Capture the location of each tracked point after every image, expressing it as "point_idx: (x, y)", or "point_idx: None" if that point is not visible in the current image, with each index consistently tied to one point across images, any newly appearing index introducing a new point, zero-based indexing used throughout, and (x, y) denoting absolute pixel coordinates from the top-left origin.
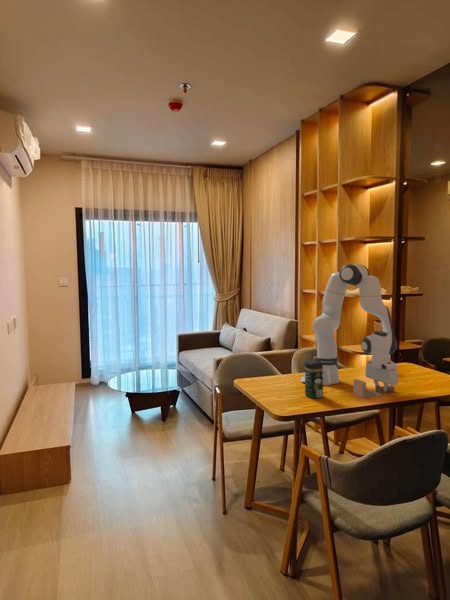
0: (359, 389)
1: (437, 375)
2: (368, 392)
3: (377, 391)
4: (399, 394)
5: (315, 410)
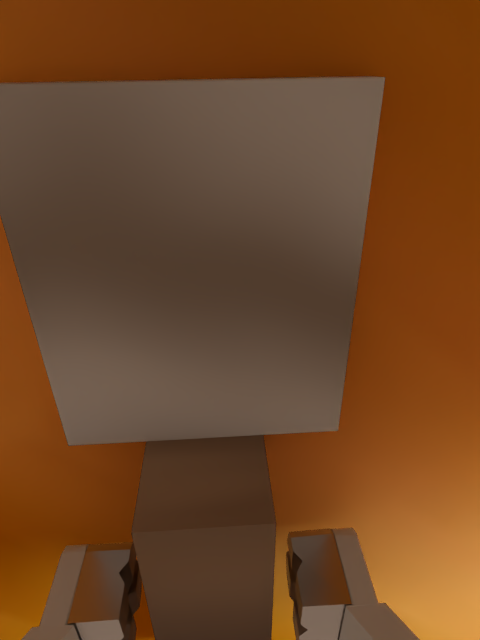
0: None
1: None
2: (291, 267)
3: (196, 456)
4: None
5: None
